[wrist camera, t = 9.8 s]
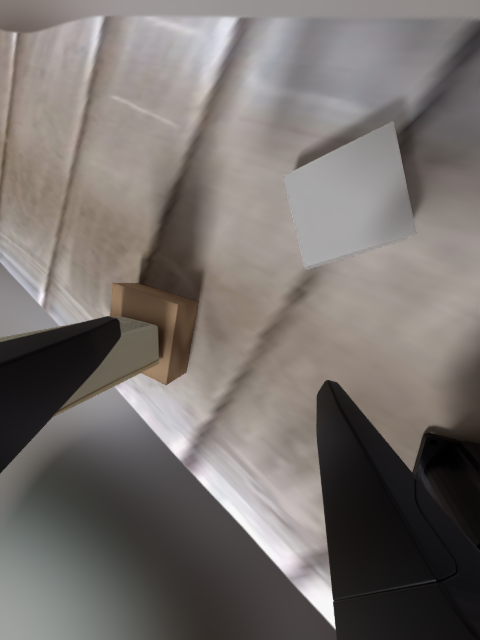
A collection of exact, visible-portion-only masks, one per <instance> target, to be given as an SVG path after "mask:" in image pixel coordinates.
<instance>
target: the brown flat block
mask: <svg viewBox="0 0 480 640" xmlns="http://www.w3.org/2000/svg"><path fill="white" fill-rule="evenodd" d="M197 307H198V302H197V301H194V300H190V299H187V298H184V297H181V296H178V295H174V294H171V293H168V292H165V291H162V290H158V289H155V288H152V287H149V286H146V285H142V284H139V283H112V298H111V313H110V317H114V316H121V317H126V318H130V319H134V320H138V321H142V322H146V323H149V324H153V325H156V326H157V327H158V344H159V364H158V365H156V366H154V367H152V368H150V369H148V370H146V371H144V372H142V374H144V375H146V376H148V377H150V378H153V379H155V380H157V381H159V382H161V383H163V384H165V385H167V384H169V383H170V382H172V381H173V380H175V379H177V378H178V377H180V376H181V375H183V374H184V373H186V370H187V365H188V359H189V353H190V347H191V342H192V336H193V330H194V324H195V319H196V313H197Z"/></svg>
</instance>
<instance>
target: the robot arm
mask: <svg viewBox="0 0 480 640" xmlns="http://www.w3.org/2000/svg"><path fill="white" fill-rule="evenodd" d="M120 337H121V328H120V321H119V320H118V319H117V318H114V317H110V316H107V317H103V318H98V319H94V320H90V321H86V322H82V323H77V324H73V325H69V326H65V327H61V328H57V329H52V330H48V331H44V332H40V333H36V334H32V335H27V336H23V337H19V338H15V339H11V340H6V341H2V342H0V473H1V472H2V471H3V470H4V469H5V468H6V467H7V466H8V464H9V463H10V462H11V461H12V460H13V459H14V458H15V457H16V456H17V455H18V454H19V453H20V452H21V451H22V449H23V448H24V447H25V446H26V445H27V444H28V443H29V442H30V441H31V440H32V439H33V438H34V437H35V435H36V434H37V433H38V432H39V431H40V430H41V429H42V428H43V427H44V426H45V425H46V424H47V422H48V421H49V420H50V419H51V418H52V417H53V416H54V415H55V414H56V413H57V412H58V411H59V409H60V408H61V407H62V406H63V405H64V404H65V403H66V402H67V401H68V400H69V399H70V398H71V397H72V395H73V394H74V393H75V392H76V391H77V390H78V389H79V388H80V387H81V386H82V385H83V384H84V382H85V381H86V380H87V379H88V378H89V377H90V376H91V375H92V374H93V373H94V372H95V370H96V369H97V368H98V367H99V366H100V365H101V363H102V362H103V361H104V359H105V358H106V357H107V355H108V354H109V353H110V351H111V350H112V349H113V347H114V346H115V345H116V343H117V342H118V341H119V339H120ZM316 430H317V445H318V455H319V465H320V475H321V485H322V495H323V505H324V515H325V525H326V535H327V545H328V555H329V565H330V575H331V584H332V594H333V600H334V601H333V606H334V616H335V626H336V636H337V640H480V444H476V443H472V442H468V441H458V440H454V439H451V438H447V437H443V436H439V435H436V434H431V433H428V434H425V435H424V437H423V440H422V443H421V447H420V450H419V454H418V457H417V461H416V464H415V468H414V471H413V473H412V472H411V471H410V469H409V468H408V467H407V466H406V465H405V463H404V462H403V461H402V460H401V459H400V457H399V456H398V455H397V454H396V453H395V451H394V450H393V449H392V448H391V446H390V445H389V444H388V443H387V442H386V440H385V439H384V438H383V437H382V436H381V434H380V433H379V432H378V431H377V430H376V428H375V427H374V426H373V425H372V424H371V422H370V421H369V420H368V419H367V417H366V416H365V415H364V414H363V413H362V411H361V410H360V409H359V408H358V407H357V405H356V404H355V403H354V402H353V401H352V399H351V398H350V397H349V396H348V395H347V393H346V392H345V391H344V390H343V389H342V387H341V386H340V385H339V384H338V383H337V382H334V381H331V380H326V381H325V382H324V384H323V385H322V387H321V389H320V390H319V392H318V394H317V424H316ZM430 440H435V441H434V442H429V441H430Z"/></svg>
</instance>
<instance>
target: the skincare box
mask: <svg viewBox="0 0 480 640" xmlns="http://www.w3.org/2000/svg"><path fill="white" fill-rule="evenodd" d="M114 318H117V319H118V320H119V321H120V328H121V337H120V339H119V341H118V342H117V343H116V345H115V346H114V347H113V349H112V350H111V351H110V353H109V354H108V355H107V357H106V358H105V359H104V361H103V362H102V363H101V365H100V366H99V367H98V368H97V369H96V370H95V372H94V373H93V374H92V375H91V376H90V377H89V378H88V379H87V380H86V381H85V382H84V384H83V385H82V386H81V387H80V388H79V389H78V390H77V391H76V392H75V393H74V394H73V395H72V397H71V398H70V399H69V400H68V401H67V402H66V403H65V404H64V405H63V406H62V407H61V408H60V409H59V411H58V412H57V413H56V414H55V415H54V416H56V415H58V414H60V413H62V412H64V411H66V410H68V409H70V408H72V407H74V406H76V405H78V404H80V403H82V402H84V401H86V400H88V399H89V398H92V397H94V396H96V395H98V394H100V393H102V392H104V391H106V390H108V389H110V388H112V387H114V386H116V385H118V384H120V383H122V382H124V381H126V380H128V379H130V378H132V377H134V376H136V375H138V374H140V373H142V372H144V371H146V370H148V369H150V368H152V367H154V366H156V365H158V364H159V344H158V327H157V326H156V325H153V324H149V323H146V322H142V321H138V320H134V319H130V318H126V317H121V316H114ZM76 324H77V323H76ZM71 325H73V324H71ZM66 326H69V325H66ZM61 327H65V326H61ZM61 327H56V328H50V329H45V330H40V331H34V332H28V333H23V334H18V335H12V336H7V337H2V338H0V342H2V341H6V340H11V339H15V338H19V337H23V336H27V335H32V334H36V333H40V332H44V331H48V330H52V329H57V328H61ZM54 416H53V417H54Z"/></svg>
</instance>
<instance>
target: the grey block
mask: <svg viewBox="0 0 480 640" xmlns="http://www.w3.org/2000/svg"><path fill="white" fill-rule="evenodd" d="M283 180H284V184H285V189H286V193H287V197H288V201H289V205H290V210H291V214H292V218H293V222H294V227H295V231H296V235H297V239H298V243H299V248H300V252H301V256H302V260H303V264H304V268H305V269H306V270H308V269H311V268H315V267H318V266H321V265H325V264H328V263H332V262H335V261H338V260H342V259H345V258H348V257H352V256H355V255H358V254H362V253H365V252H368V251H372V250H375V249H378V248H382V247H385V246H388V245H392V244H395V243H398V242H401V241H403V240H405V239H407V238H408V237H410V236H412V235H414V234H415V233H416V228H415V223H414V219H413V214H412V209H411V204H410V199H409V194H408V189H407V184H406V179H405V174H404V170H403V165H402V160H401V155H400V150H399V145H398V140H397V135H396V130H395V126H394V121H392V122H390V123H388V124H386V125H384V126H382V127H380V128H378V129H376V130H374V131H372V132H370V133H368V134H366V135H364V136H362V137H360V138H358V139H356V140H354V141H352V142H350V143H348V144H346V145H344V146H342V147H340V148H338V149H336V150H334V151H332V152H330V153H328V154H326V155H324V156H322V157H320V158H318V159H316V160H314V161H312V162H310V163H308V164H306V165H304V166H302V167H300V168H298V169H296V170H294V171H292V172H290V173H288V174H286V175H284V176H283Z"/></svg>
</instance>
